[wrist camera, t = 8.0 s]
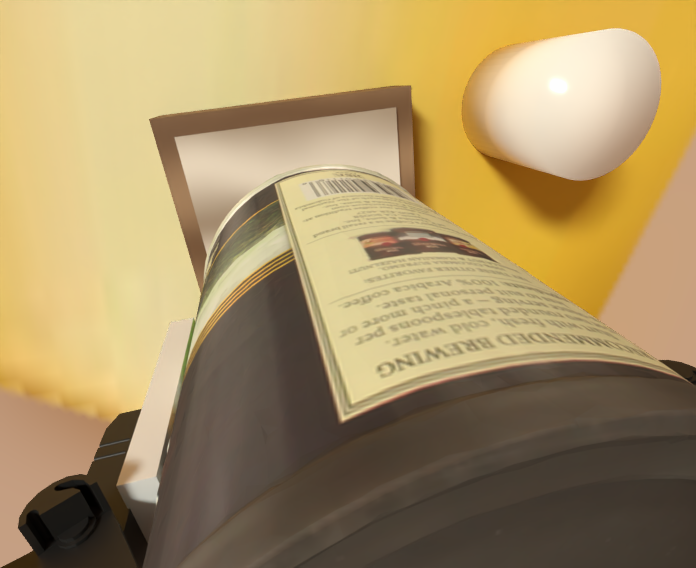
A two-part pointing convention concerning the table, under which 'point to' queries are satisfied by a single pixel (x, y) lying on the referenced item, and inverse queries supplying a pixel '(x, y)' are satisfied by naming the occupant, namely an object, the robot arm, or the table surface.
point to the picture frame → (277, 150)
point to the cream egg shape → (564, 102)
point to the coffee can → (410, 403)
